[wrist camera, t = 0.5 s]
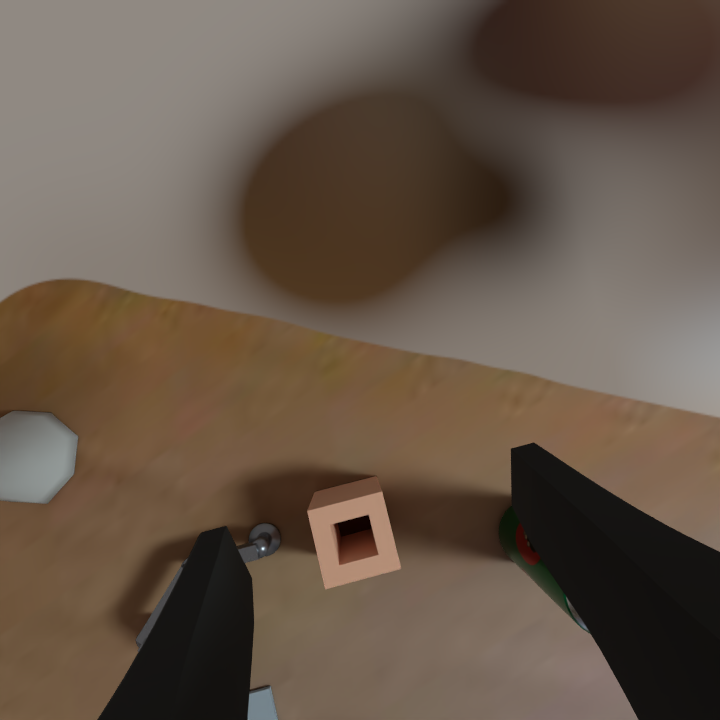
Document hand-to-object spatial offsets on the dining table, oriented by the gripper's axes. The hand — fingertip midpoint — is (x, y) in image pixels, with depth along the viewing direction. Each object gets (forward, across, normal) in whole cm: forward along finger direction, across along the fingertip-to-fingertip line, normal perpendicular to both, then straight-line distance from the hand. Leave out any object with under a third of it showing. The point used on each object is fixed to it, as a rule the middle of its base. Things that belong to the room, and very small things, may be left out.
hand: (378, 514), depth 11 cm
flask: (+23, +24, +10) cm, 35 cm away
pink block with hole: (+17, +1, +18) cm, 25 cm away
